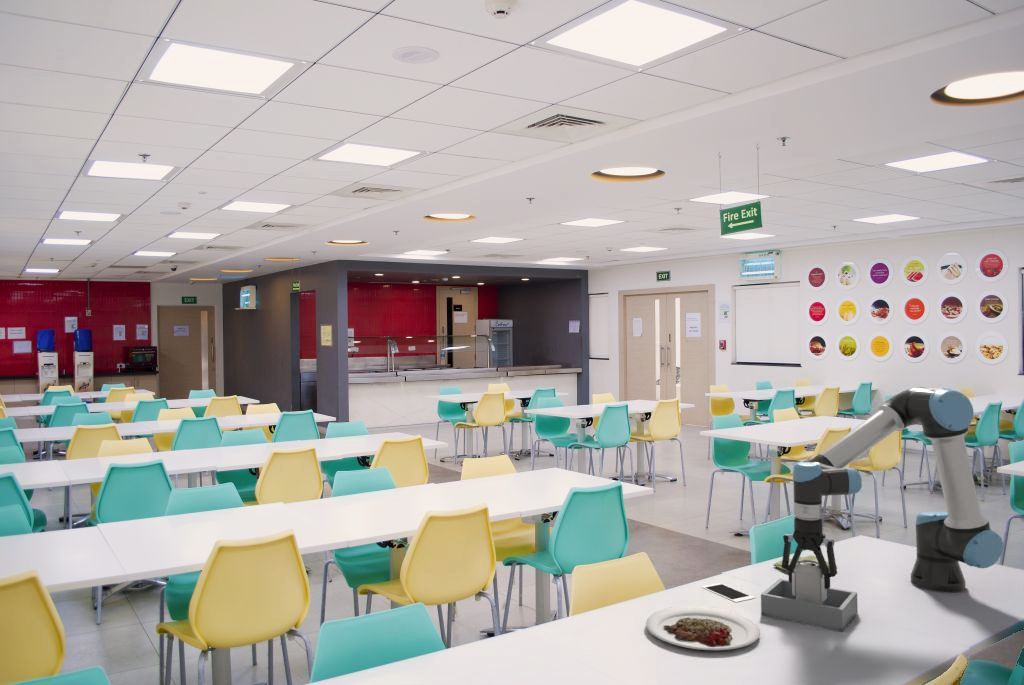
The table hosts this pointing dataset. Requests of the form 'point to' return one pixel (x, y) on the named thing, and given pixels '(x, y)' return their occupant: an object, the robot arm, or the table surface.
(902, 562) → the table surface
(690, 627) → the plated food
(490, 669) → the table surface
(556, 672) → the table surface
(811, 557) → the washcloth
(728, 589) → the cell phone
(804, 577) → the can
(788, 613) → the bin
